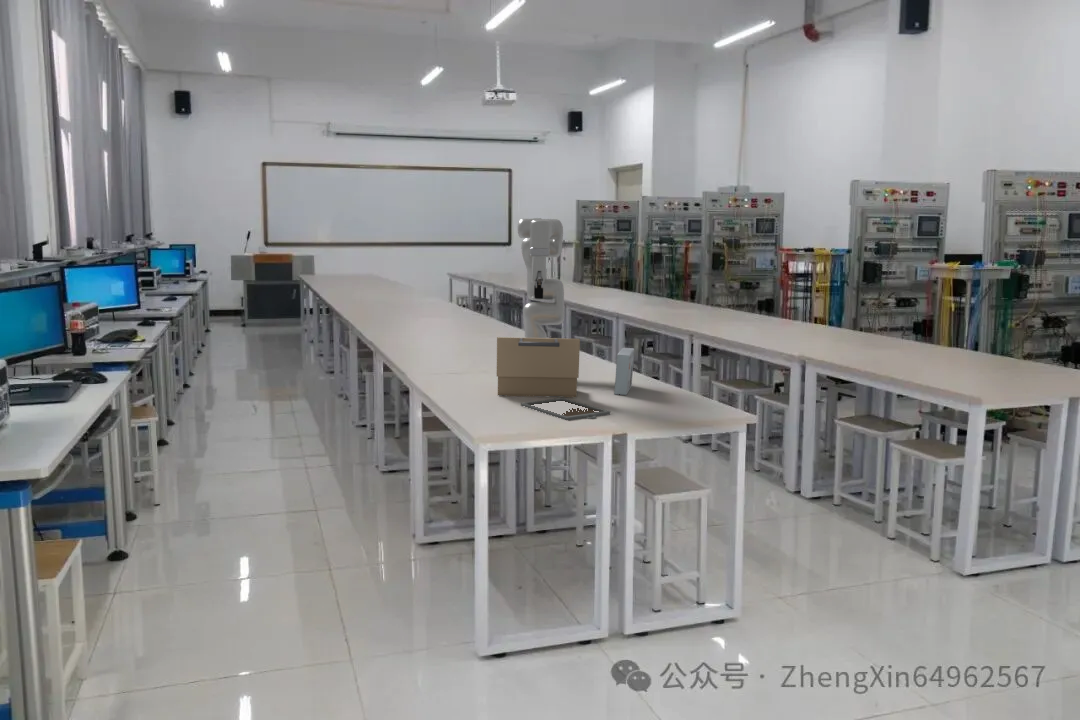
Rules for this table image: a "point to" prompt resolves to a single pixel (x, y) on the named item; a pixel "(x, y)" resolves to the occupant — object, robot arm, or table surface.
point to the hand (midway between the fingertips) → (538, 296)
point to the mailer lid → (538, 357)
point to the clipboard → (569, 415)
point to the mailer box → (537, 386)
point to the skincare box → (624, 371)
